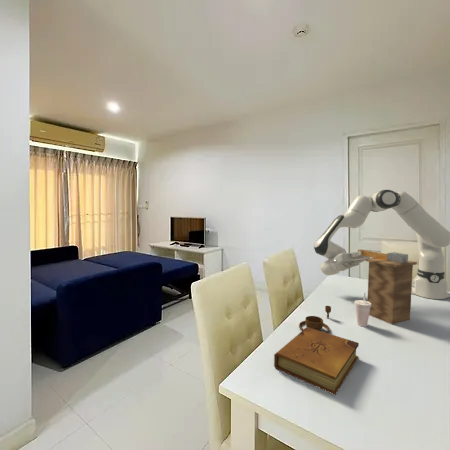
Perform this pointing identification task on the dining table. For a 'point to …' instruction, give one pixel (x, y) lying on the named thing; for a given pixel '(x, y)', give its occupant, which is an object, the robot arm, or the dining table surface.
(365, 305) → the smoothie
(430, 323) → the dining table surface
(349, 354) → the diary
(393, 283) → the stand
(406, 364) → the dining table surface
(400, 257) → the mallet
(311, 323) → the place setting
